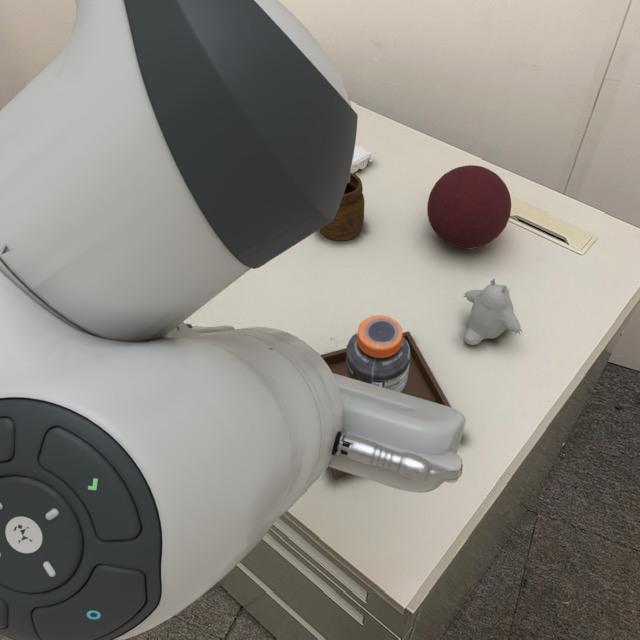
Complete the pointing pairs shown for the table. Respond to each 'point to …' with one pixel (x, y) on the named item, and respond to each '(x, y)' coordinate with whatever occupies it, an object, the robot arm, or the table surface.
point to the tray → (418, 379)
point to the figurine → (490, 313)
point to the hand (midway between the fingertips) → (319, 382)
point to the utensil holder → (348, 212)
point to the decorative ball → (469, 206)
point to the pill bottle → (379, 354)
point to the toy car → (360, 158)
